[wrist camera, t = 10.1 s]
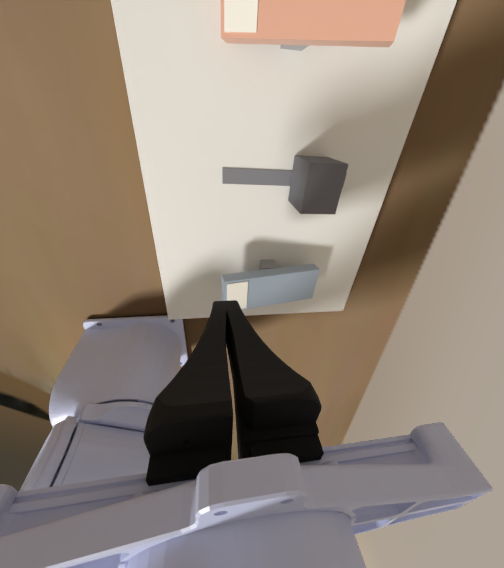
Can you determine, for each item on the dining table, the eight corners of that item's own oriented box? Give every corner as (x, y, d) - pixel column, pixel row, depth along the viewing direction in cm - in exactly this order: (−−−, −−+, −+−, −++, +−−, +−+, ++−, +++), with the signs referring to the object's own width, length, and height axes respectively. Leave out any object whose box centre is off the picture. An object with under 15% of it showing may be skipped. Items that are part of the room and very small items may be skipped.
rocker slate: (221, 305, 20) (224, 313, 19) (221, 274, 18) (224, 282, 17) (306, 291, 22) (312, 298, 21) (313, 263, 20) (320, 270, 20)
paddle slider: (287, 200, 18) (300, 213, 15) (294, 155, 16) (309, 162, 14) (318, 201, 18) (335, 214, 16) (327, 156, 17) (348, 164, 14)
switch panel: (171, 306, 25) (166, 330, 22) (90, -181, 10) (44, -296, 7) (335, 298, 27) (349, 319, 25) (463, -88, 13) (533, -145, 10)
